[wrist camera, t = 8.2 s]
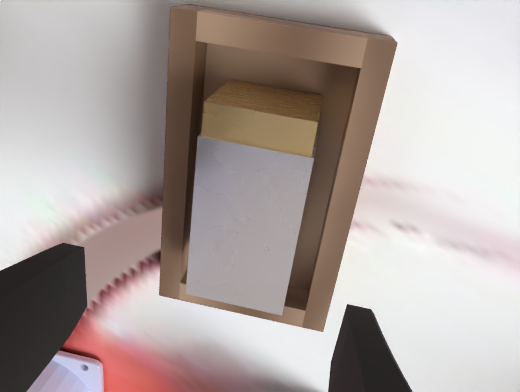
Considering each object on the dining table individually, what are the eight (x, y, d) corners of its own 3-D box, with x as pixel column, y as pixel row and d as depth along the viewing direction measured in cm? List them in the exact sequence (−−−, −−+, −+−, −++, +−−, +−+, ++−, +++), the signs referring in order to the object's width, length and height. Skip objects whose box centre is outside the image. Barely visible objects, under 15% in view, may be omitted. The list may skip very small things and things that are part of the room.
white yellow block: (211, 243, 22) (185, 294, 18) (228, 78, 18) (200, 101, 15) (292, 260, 22) (282, 315, 18) (326, 95, 18) (321, 123, 14)
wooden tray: (173, 271, 24) (159, 295, 22) (188, 4, 18) (170, 7, 16) (324, 304, 23) (323, 331, 21) (392, 36, 17) (397, 42, 15)
